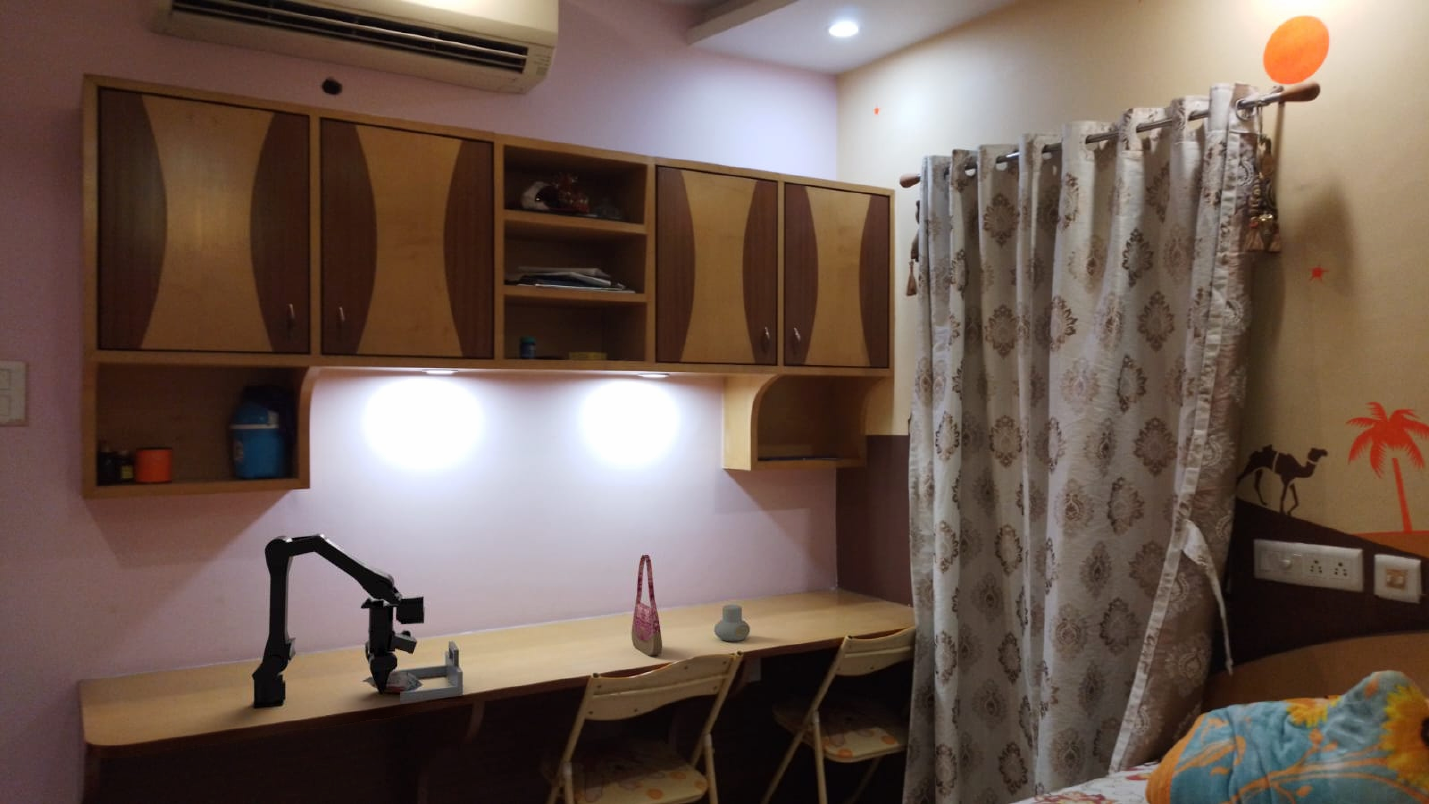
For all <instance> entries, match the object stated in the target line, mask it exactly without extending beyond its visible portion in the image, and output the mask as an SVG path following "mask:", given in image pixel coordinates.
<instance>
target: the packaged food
mask: <svg viewBox="0 0 1429 804" xmlns="http://www.w3.org/2000/svg"><path fill="white" fill-rule="evenodd" d="M361 682H363V683H367V684H369V685H370V687H372V688H375V689H377V686H376V684H375V681H374V679H373V676H372V675H371V676H369V677H367V678H365V679H363V680H362V681H361ZM422 686H423V683H422V682H421V681H420V680H419V678H416V677H415V676H414V675H412V674H410V673H408V672H401V671H392V672H391V673H390V674H389V677H388V681H387V685H386V689H385V693H386V692H388V693H400V692H403V691H412V690H418V689H419V688H420V687H422Z"/></svg>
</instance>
